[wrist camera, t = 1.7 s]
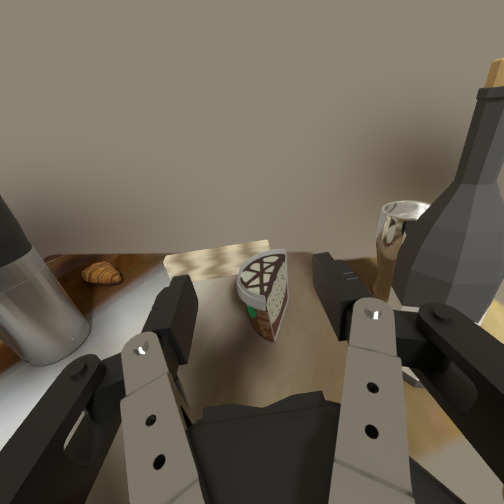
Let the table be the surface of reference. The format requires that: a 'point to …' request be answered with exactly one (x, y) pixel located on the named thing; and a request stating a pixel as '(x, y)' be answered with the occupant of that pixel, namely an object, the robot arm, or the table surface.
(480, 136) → the wine bottle
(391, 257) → the beer glass
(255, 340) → the table surface
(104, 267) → the croissant
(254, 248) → the maple board
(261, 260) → the food container
